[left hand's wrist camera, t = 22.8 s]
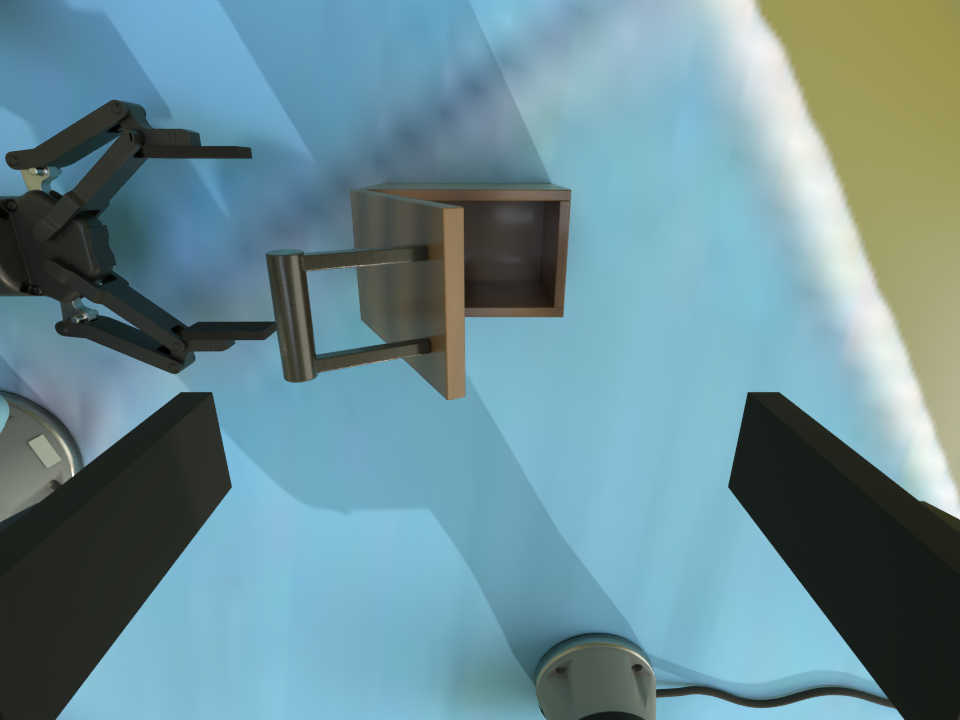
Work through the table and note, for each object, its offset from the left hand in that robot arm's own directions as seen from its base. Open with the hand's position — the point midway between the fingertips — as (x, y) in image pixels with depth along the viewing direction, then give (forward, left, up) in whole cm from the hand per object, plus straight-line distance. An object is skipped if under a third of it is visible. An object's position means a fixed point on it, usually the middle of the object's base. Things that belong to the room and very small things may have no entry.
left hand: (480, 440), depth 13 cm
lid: (+4, 0, -19) cm, 20 cm away
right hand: (+17, -1, -29) cm, 34 cm away
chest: (+1, 0, -37) cm, 37 cm away
